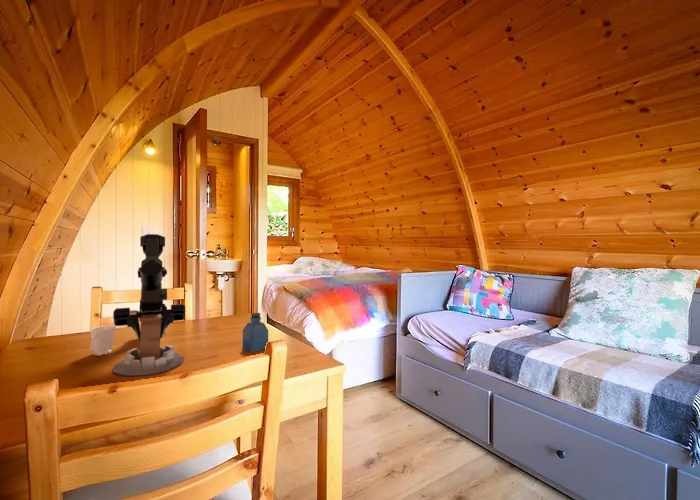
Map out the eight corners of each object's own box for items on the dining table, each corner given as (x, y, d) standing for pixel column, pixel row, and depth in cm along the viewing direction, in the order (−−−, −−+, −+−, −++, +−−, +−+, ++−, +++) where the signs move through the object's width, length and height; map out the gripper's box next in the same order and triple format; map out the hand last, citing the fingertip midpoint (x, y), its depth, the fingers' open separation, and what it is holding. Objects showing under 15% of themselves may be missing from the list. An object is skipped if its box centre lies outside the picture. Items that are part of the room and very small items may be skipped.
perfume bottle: (268, 348, 116) (268, 313, 116) (252, 352, 112) (252, 316, 112) (258, 344, 121) (258, 311, 120) (242, 347, 116) (243, 313, 116)
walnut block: (140, 358, 100) (142, 315, 100) (159, 356, 103) (161, 314, 102) (139, 364, 96) (140, 319, 96) (159, 361, 98) (160, 317, 98)
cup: (120, 349, 112) (120, 325, 112) (104, 359, 103) (104, 333, 102) (97, 349, 111) (97, 325, 111) (78, 360, 101) (78, 334, 101)
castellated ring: (96, 374, 91) (96, 359, 91) (142, 352, 109) (142, 340, 109) (159, 378, 90) (159, 363, 90) (195, 355, 108) (195, 342, 107)
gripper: (113, 281, 97) (108, 327, 88) (185, 278, 107) (187, 320, 97) (116, 303, 105) (112, 348, 95) (183, 299, 114) (185, 340, 105)
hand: (150, 338), depth 98 cm, fingers closed on walnut block, 5 cm apart
